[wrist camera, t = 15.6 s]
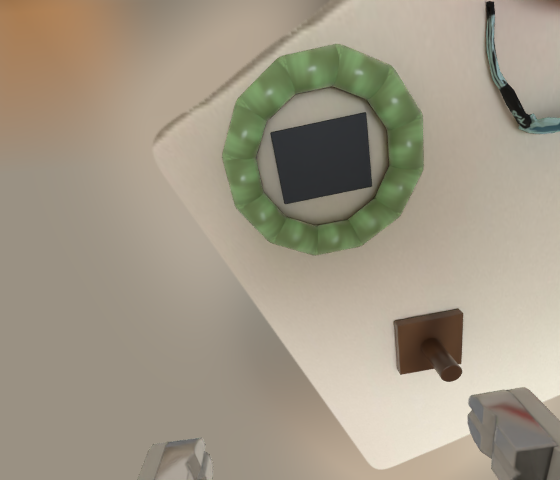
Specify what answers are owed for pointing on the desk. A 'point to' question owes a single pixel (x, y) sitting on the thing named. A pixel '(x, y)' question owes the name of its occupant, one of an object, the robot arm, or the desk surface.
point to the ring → (306, 77)
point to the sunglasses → (524, 120)
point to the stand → (430, 344)
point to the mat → (323, 158)
